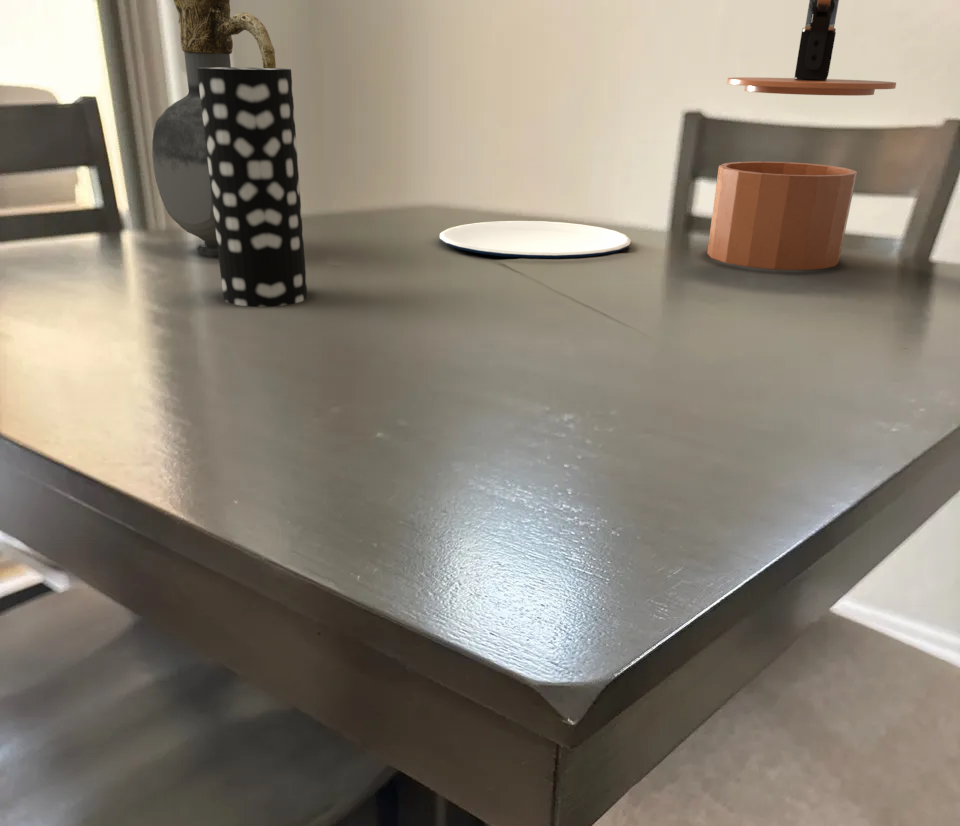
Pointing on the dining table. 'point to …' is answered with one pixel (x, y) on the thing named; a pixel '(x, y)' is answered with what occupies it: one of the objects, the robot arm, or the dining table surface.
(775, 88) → the lid
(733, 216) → the pot
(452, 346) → the dining table surface
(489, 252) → the plate
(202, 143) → the pitcher
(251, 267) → the white-spotted black cylinder
